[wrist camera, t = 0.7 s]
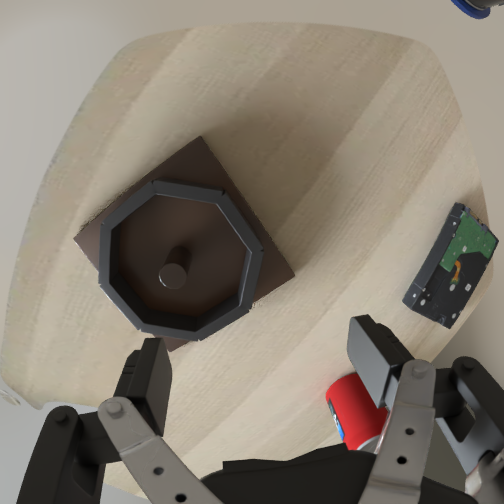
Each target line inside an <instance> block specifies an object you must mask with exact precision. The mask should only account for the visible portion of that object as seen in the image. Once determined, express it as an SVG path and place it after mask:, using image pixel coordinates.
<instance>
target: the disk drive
mask: <svg viewBox="0 0 504 504" xmlns="http://www.w3.org/2000/svg"><path fill="white" fill-rule="evenodd" d="M498 242H499V240H498V239H497V238H496V237H495V235H494V234H493V233H492V232H491V231H490V230H489V229H488V227H487V226H486V225H485V224H483V223H482V221H481V220H480V219H478V217H477V216H476V215H475V214H474V213H473V212H472V211H471V209H470V208H468V207H466V206H465V205H463V204H460V203H457V202H456V203H455V204H454V206H453V207H452V209H451V211H450V213H449V216H448V217H447V220H446V222H445V224H444V226H443V228H442V230H441V232H440V234H439V236H438V237H437V240H436V241H435V243H434V245H433V247H432V249H431V251H430V253H429V255H428V256H427V258H426V260H425V262H424V264H423V265H422V267H421V269H420V271H419V272H418V274H417V276H416V277H415V279H414V281H413V282H412V284H411V286H410V288H409V289H408V291H407V293H406V295H405V297H404V298H403V300H402V302H403V303H404V304H405V305H406V306H407V307H409V308H410V309H411V310H413V311H415V312H417V313H419V314H421V315H423V316H425V317H427V318H429V319H431V320H432V321H434V322H435V321H436V322H438V323H440V324H441V325H442V326H444V327H446V328H448V329H450V328H451V327H452V325H453V324H454V323H455V321H456V320H457V318H458V317H459V315H460V313H461V311H462V310H463V309H464V307H465V305H466V303H467V302H468V300H469V298H470V297H471V295H472V293H473V291H474V290H475V288H476V286H477V284H478V282H479V281H480V278H481V277H482V275H483V273H484V271H485V270H486V267H487V265H488V263H489V261H490V260H491V258H492V256H493V253H494V250H495V249H496V247H497V244H498Z"/></svg>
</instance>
